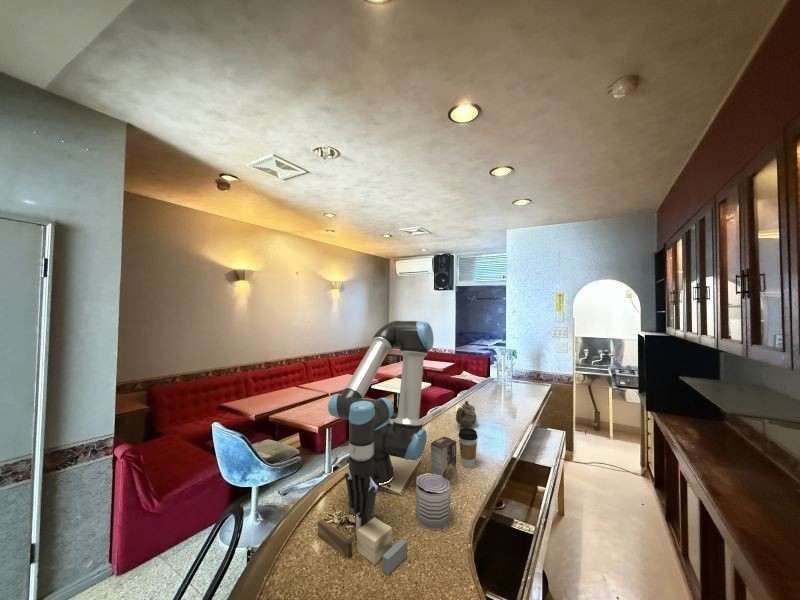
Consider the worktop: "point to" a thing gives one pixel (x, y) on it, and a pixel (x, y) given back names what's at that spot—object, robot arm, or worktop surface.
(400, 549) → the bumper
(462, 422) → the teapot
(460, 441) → the coffee cup
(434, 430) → the worktop surface
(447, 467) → the coffee box
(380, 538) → the block
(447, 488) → the can
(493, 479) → the worktop surface
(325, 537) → the chute
